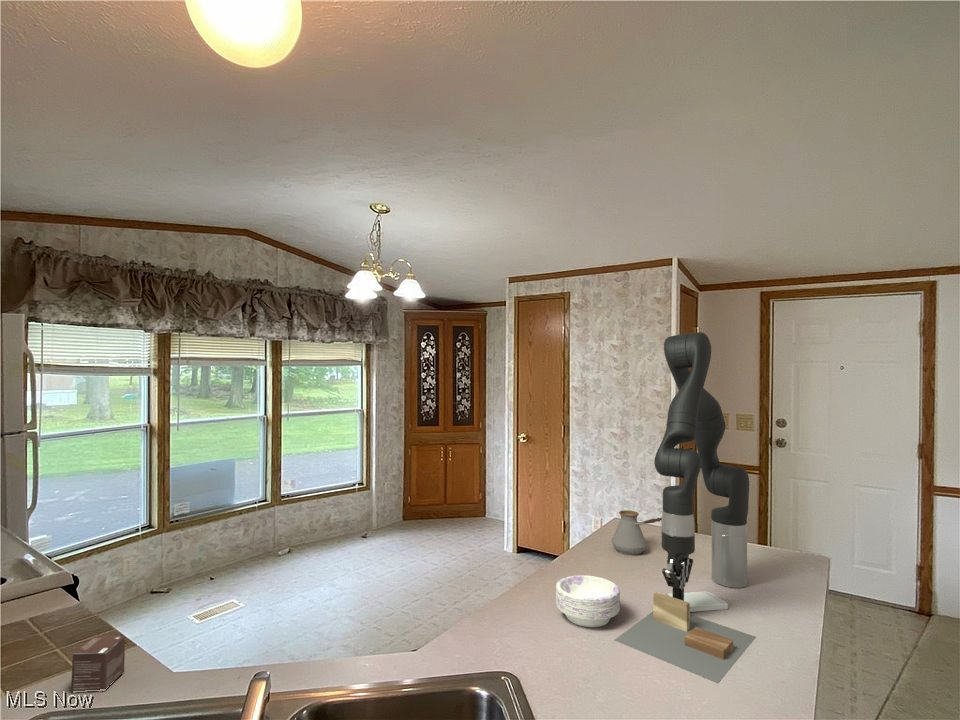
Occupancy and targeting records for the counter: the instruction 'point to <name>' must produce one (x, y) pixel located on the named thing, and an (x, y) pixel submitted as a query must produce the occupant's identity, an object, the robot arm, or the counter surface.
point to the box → (98, 663)
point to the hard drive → (703, 601)
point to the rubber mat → (673, 650)
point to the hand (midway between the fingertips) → (678, 602)
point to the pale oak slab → (671, 611)
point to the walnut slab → (709, 643)
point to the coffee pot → (630, 533)
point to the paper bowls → (588, 600)
